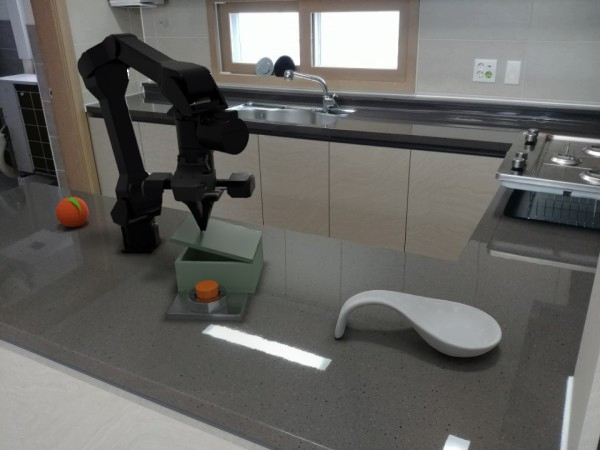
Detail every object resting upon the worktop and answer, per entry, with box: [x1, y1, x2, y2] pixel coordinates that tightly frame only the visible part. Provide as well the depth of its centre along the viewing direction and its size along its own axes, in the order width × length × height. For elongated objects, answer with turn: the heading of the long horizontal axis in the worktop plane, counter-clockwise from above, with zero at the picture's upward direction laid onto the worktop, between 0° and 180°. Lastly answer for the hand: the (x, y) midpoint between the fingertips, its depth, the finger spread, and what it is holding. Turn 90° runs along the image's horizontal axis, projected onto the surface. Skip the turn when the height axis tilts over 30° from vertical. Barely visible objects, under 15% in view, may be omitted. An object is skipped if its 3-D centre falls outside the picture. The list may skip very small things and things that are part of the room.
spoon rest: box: [334, 289, 503, 358], centre depth 78 cm, size 24×12×7 cm, turn 78°
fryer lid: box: [169, 212, 263, 263], centre depth 96 cm, size 14×12×1 cm
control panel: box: [166, 284, 249, 322], centre depth 89 cm, size 12×7×3 cm, turn 85°
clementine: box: [55, 196, 90, 228], centre depth 122 cm, size 8×7×7 cm
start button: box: [196, 280, 219, 300], centre depth 88 cm, size 4×4×2 cm
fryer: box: [174, 235, 264, 294], centre depth 98 cm, size 14×12×6 cm
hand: (203, 230), depth 96 cm, fingers closed
